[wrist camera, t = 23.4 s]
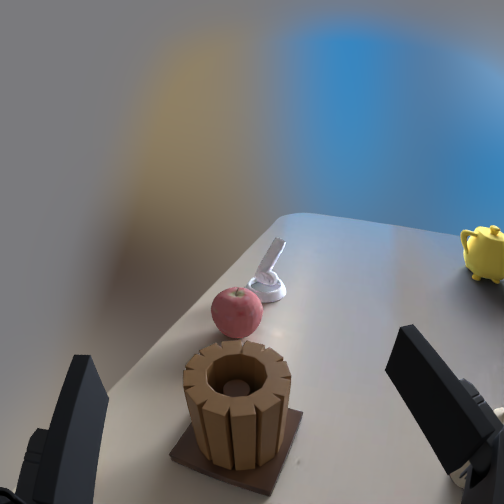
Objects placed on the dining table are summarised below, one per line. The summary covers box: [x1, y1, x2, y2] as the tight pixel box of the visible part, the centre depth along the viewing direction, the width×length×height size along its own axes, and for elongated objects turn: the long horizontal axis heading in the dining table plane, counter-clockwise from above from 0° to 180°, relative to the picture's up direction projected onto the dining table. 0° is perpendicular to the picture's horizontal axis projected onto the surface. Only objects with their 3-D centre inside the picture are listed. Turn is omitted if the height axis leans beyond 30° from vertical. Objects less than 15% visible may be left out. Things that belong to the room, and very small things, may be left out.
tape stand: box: [169, 380, 303, 496], centre depth 28 cm, size 11×11×10 cm
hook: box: [245, 237, 286, 303], centre depth 59 cm, size 8×12×7 cm
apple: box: [211, 287, 263, 338], centre depth 46 cm, size 7×7×8 cm
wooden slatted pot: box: [183, 340, 291, 471], centre depth 27 cm, size 9×9×10 cm
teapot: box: [461, 225, 504, 284], centre depth 60 cm, size 13×20×12 cm
